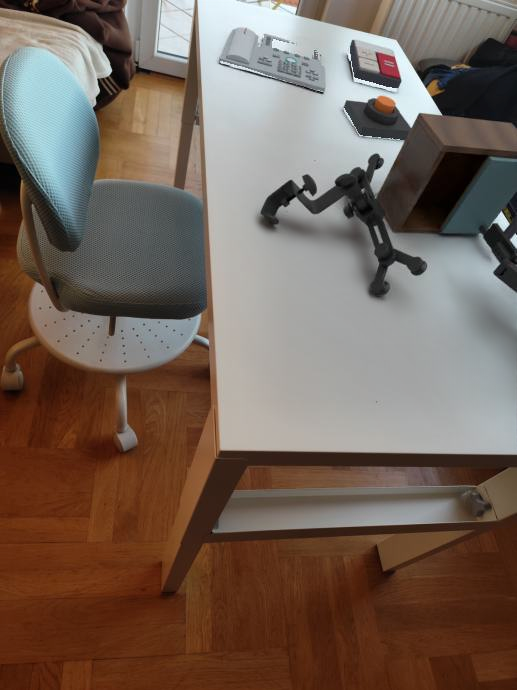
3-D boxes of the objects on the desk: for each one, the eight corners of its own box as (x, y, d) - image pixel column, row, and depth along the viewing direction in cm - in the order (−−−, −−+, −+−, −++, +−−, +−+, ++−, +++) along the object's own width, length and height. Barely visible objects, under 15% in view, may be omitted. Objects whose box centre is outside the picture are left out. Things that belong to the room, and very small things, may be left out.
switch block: (390, 115, 107) (398, 97, 104) (409, 141, 101) (418, 123, 98) (342, 110, 103) (349, 91, 100) (359, 137, 98) (367, 118, 94)
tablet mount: (328, 325, 74) (429, 270, 66) (269, 280, 65) (378, 208, 57) (303, 212, 90) (382, 156, 82) (253, 162, 81) (336, 93, 72)
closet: (457, 203, 91) (511, 122, 79) (479, 233, 86) (540, 153, 74) (374, 200, 85) (419, 112, 73) (393, 232, 80) (444, 145, 68)
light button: (387, 104, 101) (391, 96, 100) (395, 115, 99) (398, 107, 98) (370, 103, 100) (374, 94, 98) (378, 113, 98) (381, 105, 96)
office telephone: (220, 51, 100) (232, 17, 113) (218, 65, 102) (230, 29, 115) (327, 82, 103) (328, 45, 115) (323, 94, 105) (324, 56, 117)
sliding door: (482, 230, 85) (535, 160, 75) (501, 257, 82) (560, 187, 71) (440, 230, 82) (489, 156, 72) (458, 257, 79) (513, 184, 68)
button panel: (359, 66, 110) (353, 35, 118) (351, 84, 113) (346, 53, 122) (403, 78, 112) (394, 47, 120) (395, 96, 115) (387, 64, 124)
